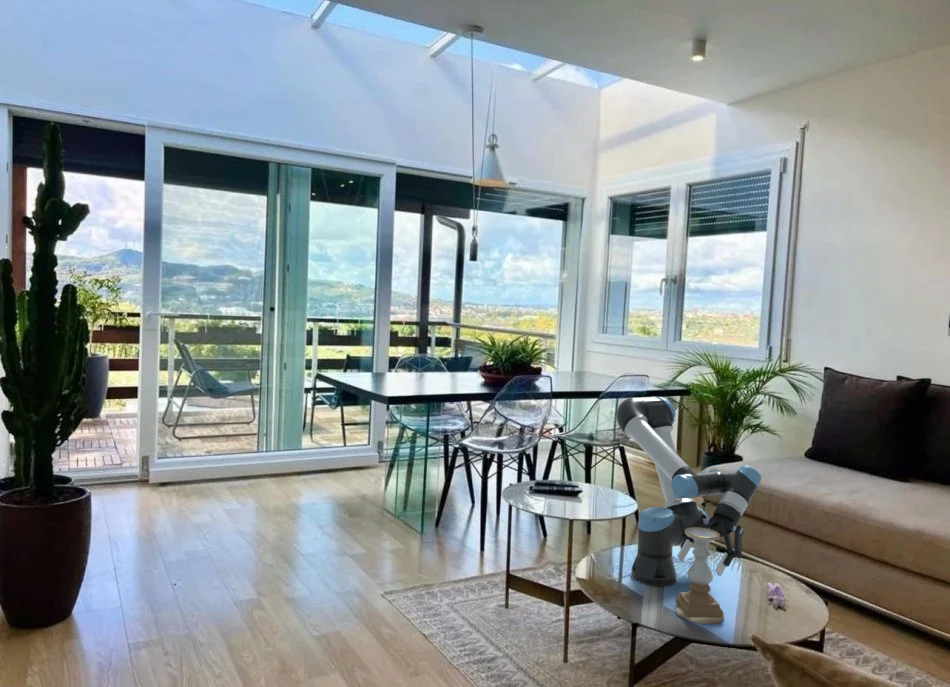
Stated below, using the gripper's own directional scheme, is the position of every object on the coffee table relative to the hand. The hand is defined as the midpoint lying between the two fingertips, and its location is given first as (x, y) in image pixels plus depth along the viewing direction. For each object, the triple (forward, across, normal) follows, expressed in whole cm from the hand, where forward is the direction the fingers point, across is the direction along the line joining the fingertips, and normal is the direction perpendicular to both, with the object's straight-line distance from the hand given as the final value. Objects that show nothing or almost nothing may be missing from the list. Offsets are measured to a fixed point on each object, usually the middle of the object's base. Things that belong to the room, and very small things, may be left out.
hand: (698, 566), depth 204 cm
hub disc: (+10, 0, -12) cm, 15 cm away
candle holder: (+9, 0, -11) cm, 14 cm away
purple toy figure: (-12, -7, -34) cm, 36 cm away
